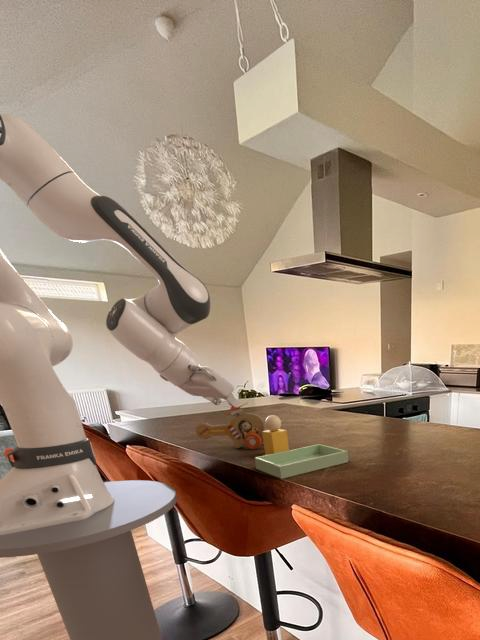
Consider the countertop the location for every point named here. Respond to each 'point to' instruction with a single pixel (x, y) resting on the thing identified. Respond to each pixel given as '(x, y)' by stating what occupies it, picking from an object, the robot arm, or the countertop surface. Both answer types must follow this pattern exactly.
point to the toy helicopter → (237, 429)
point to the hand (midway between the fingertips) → (227, 404)
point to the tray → (300, 460)
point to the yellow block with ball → (274, 436)
